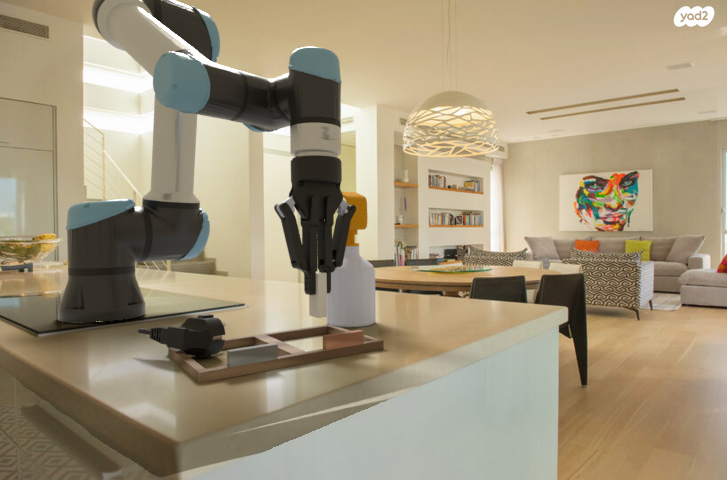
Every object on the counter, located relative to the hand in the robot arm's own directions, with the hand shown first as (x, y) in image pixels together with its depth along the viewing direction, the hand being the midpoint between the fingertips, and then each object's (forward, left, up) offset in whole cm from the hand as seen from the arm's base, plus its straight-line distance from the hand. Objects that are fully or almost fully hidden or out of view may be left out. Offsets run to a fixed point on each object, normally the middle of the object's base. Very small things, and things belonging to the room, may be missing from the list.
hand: (318, 316), depth 69 cm
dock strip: (0, -7, -4) cm, 8 cm away
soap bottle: (-12, +13, -5) cm, 18 cm away
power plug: (-12, -20, -1) cm, 23 cm away
